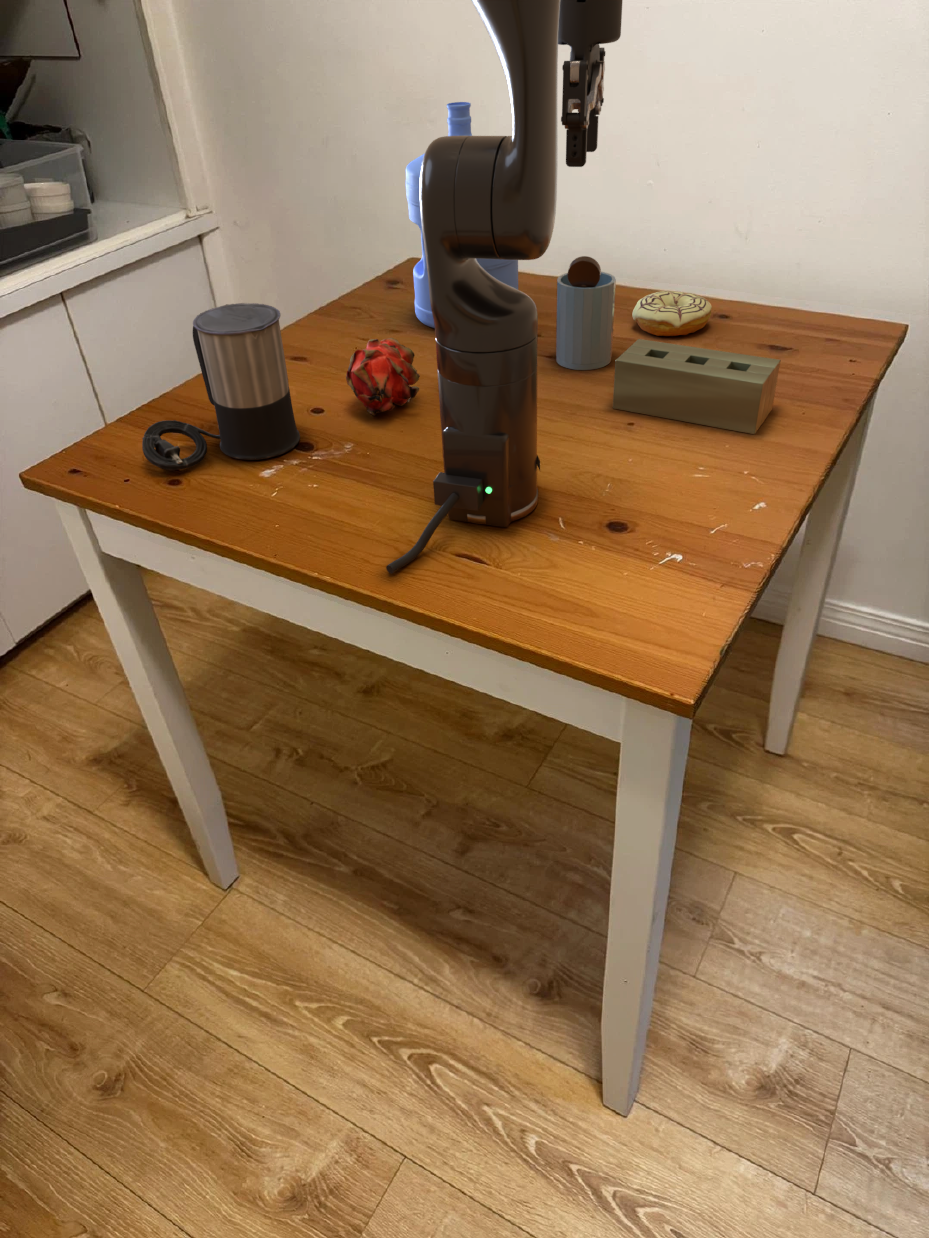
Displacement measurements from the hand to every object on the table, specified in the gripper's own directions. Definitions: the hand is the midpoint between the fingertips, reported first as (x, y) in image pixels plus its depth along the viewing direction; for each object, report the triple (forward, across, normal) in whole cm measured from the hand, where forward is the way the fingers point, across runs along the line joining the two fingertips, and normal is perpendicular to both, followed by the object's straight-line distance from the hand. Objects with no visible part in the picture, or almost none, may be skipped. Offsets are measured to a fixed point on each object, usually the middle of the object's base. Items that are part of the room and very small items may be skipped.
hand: (581, 158), depth 106 cm
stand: (+25, +12, +16) cm, 32 cm away
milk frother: (+25, +32, -35) cm, 53 cm away
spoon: (+24, -2, +1) cm, 24 cm away
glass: (+24, -1, +1) cm, 25 cm away
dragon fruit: (+25, +17, -21) cm, 36 cm away
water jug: (+25, -16, -19) cm, 35 cm away
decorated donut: (+25, -16, +11) cm, 31 cm away
